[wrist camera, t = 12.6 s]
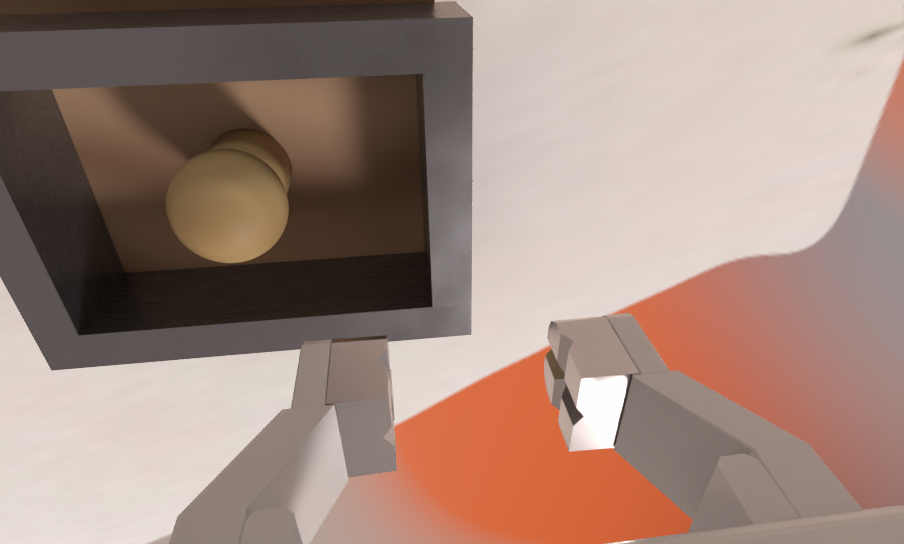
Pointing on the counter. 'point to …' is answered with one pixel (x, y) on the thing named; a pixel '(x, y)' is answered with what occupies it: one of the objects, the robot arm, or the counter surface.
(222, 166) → the keeper
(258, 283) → the grey open tray
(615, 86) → the counter surface
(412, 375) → the counter surface
